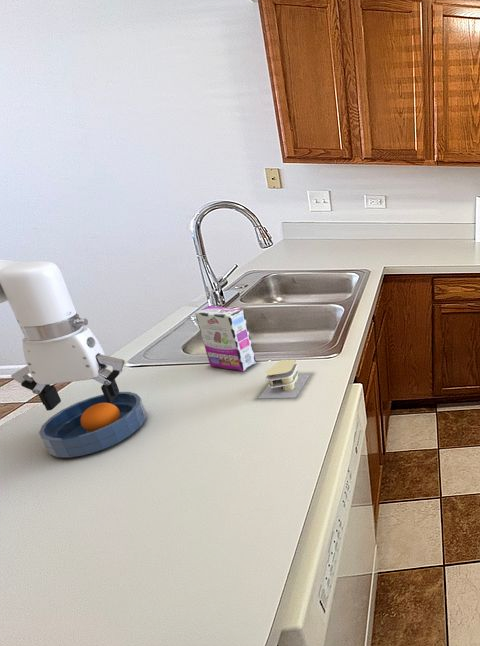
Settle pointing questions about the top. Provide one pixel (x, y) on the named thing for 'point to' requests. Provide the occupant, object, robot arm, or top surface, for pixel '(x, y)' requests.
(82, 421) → the orange
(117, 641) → the top surface
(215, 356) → the candy bar box
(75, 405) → the bowl
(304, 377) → the stacked layers on plate
